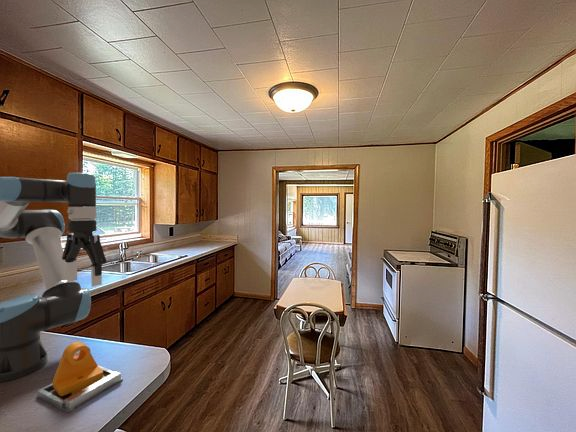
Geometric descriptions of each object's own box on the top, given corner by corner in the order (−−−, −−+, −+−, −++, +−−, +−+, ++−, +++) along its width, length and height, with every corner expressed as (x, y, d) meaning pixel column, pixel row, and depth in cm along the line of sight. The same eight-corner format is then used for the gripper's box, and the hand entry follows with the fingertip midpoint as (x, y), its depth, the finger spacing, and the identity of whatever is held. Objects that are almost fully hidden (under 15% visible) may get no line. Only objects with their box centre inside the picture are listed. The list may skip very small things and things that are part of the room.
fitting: (37, 396, 78) (37, 388, 78) (93, 368, 91) (92, 361, 91) (67, 413, 72) (67, 403, 71) (122, 380, 85) (122, 372, 85)
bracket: (60, 399, 76) (59, 357, 75) (52, 389, 80) (51, 349, 79) (104, 379, 84) (103, 341, 84) (95, 371, 89) (94, 335, 88)
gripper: (48, 219, 92) (50, 281, 93) (93, 221, 82) (95, 290, 83) (73, 218, 99) (74, 276, 100) (118, 220, 89) (119, 284, 89)
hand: (84, 283), depth 91 cm, fingers open, 13 cm apart
